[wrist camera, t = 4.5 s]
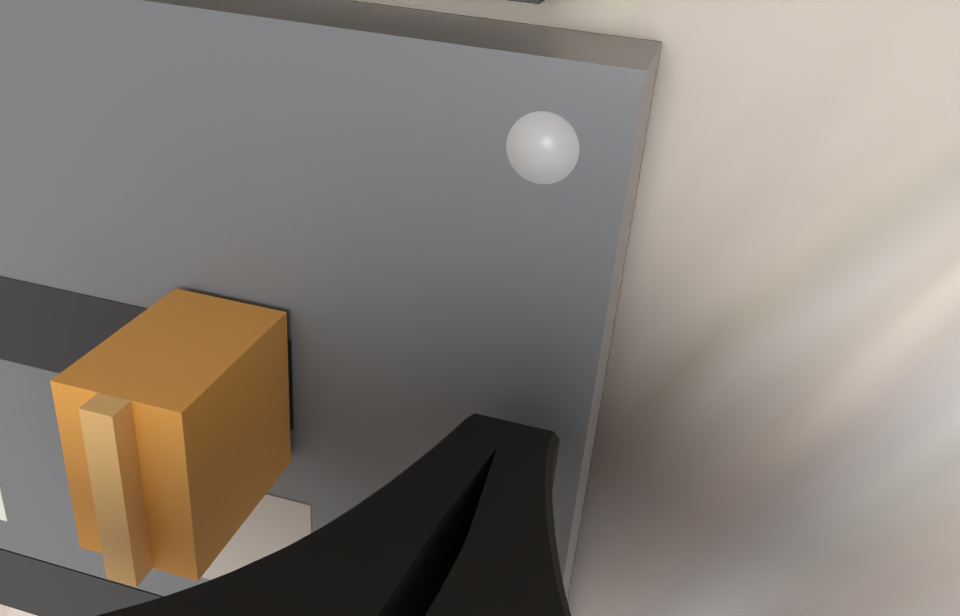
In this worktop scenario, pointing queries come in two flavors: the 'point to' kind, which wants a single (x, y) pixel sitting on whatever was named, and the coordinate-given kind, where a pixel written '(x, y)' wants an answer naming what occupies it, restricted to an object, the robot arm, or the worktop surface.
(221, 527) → the knob
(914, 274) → the worktop surface
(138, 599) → the dark grey flat bars
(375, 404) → the panel
